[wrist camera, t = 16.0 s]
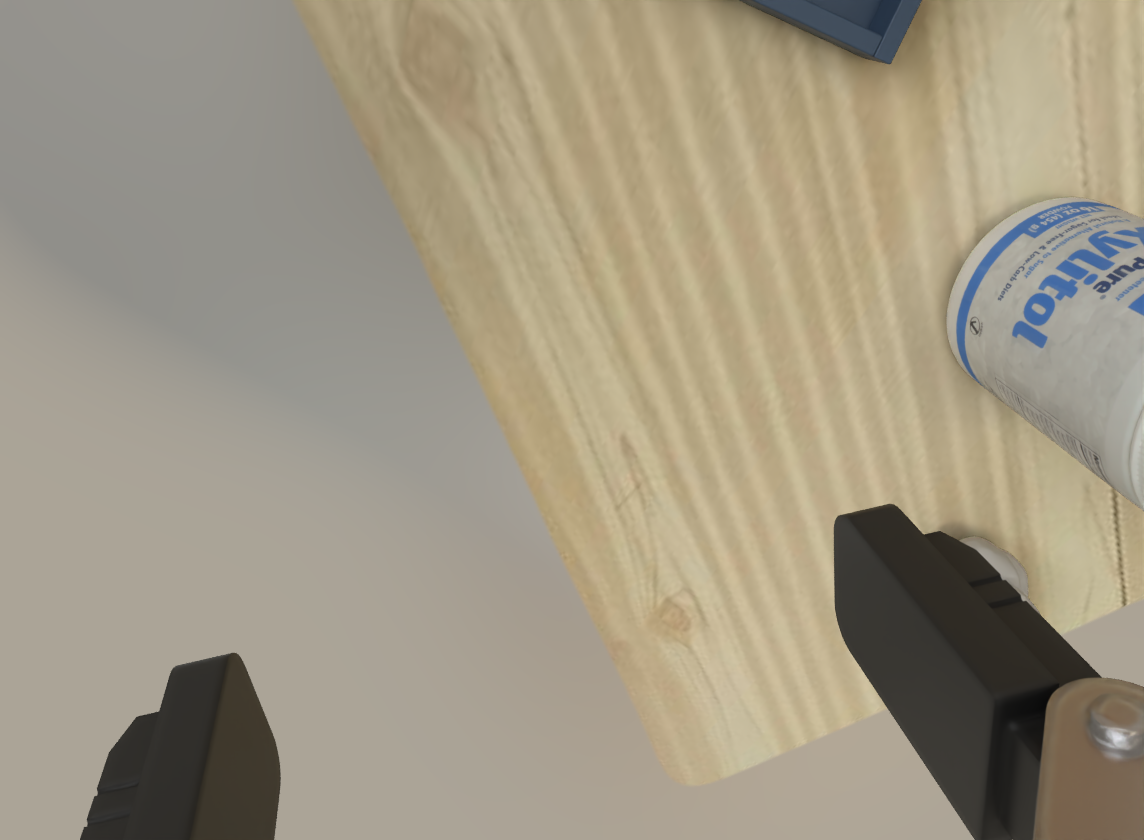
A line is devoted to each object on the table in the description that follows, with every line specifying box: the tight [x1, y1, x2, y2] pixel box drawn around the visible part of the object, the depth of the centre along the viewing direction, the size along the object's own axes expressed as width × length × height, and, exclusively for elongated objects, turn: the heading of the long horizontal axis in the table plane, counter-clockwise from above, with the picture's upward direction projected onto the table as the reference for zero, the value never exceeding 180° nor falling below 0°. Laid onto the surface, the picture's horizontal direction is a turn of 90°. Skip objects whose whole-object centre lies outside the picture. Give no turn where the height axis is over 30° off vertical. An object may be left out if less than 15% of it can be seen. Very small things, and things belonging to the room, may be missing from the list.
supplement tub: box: [947, 197, 1144, 511], centre depth 38 cm, size 10×10×15 cm
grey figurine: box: [958, 536, 1040, 614], centre depth 48 cm, size 5×7×8 cm
